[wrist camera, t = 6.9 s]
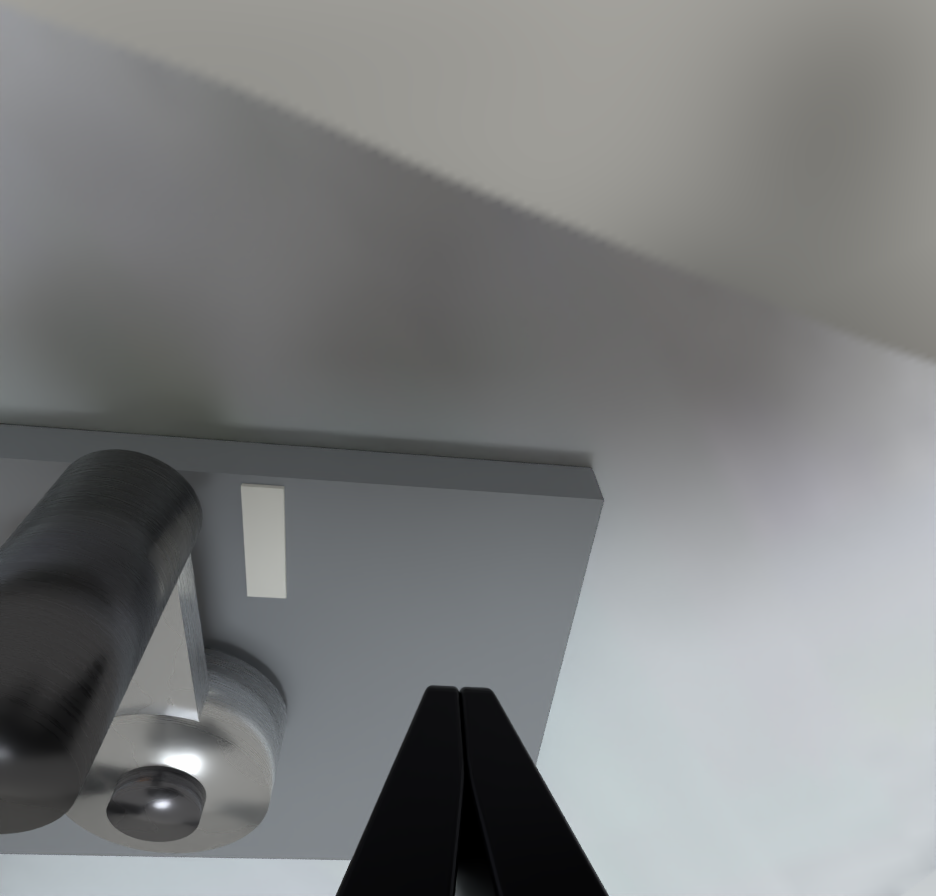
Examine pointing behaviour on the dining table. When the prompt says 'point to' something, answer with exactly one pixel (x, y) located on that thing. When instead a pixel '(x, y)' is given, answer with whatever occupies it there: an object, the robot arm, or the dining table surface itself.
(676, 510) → the dining table surface
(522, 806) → the robot arm
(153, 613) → the crank
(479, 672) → the base
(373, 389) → the dining table surface
